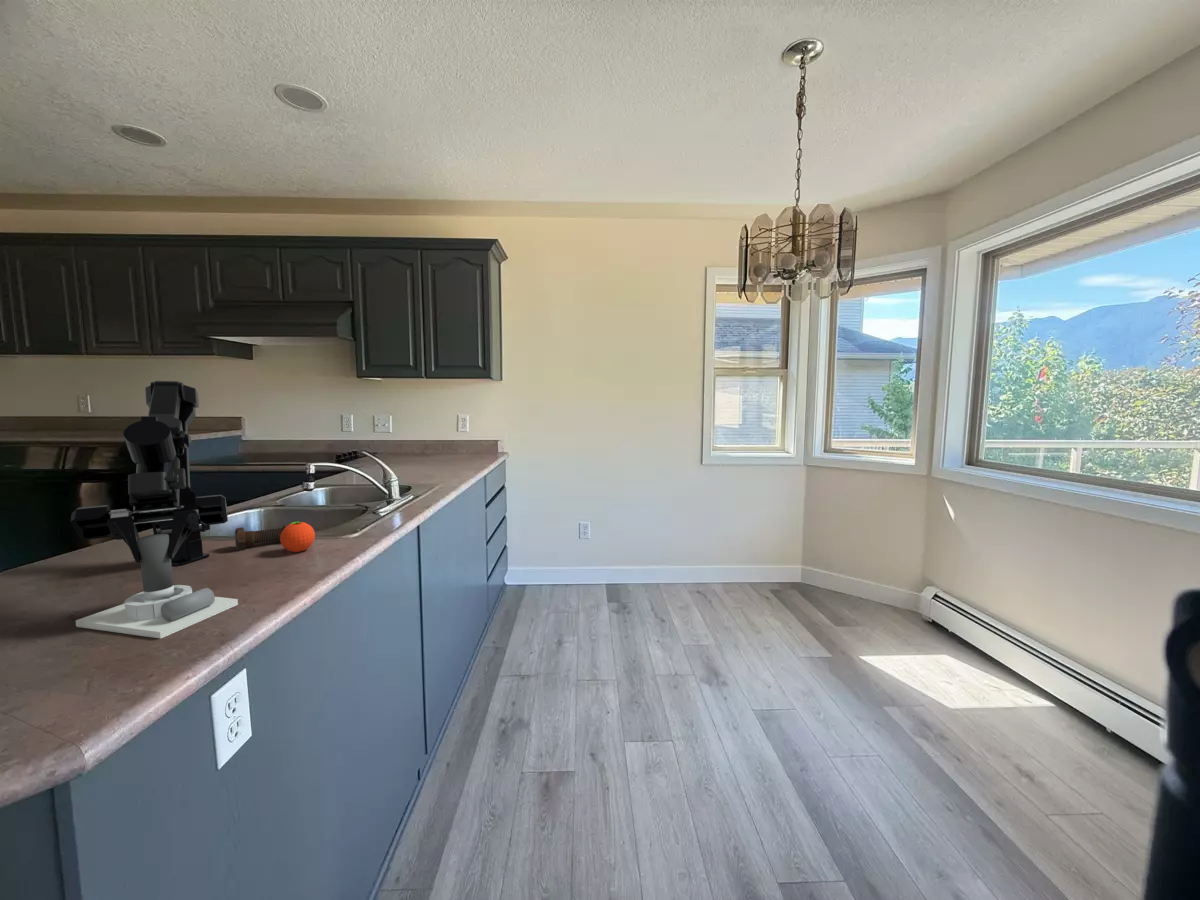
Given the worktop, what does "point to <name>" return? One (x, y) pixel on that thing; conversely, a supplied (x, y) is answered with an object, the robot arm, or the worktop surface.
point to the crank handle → (156, 567)
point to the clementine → (297, 536)
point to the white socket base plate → (159, 613)
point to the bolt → (256, 537)
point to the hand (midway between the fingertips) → (154, 559)
